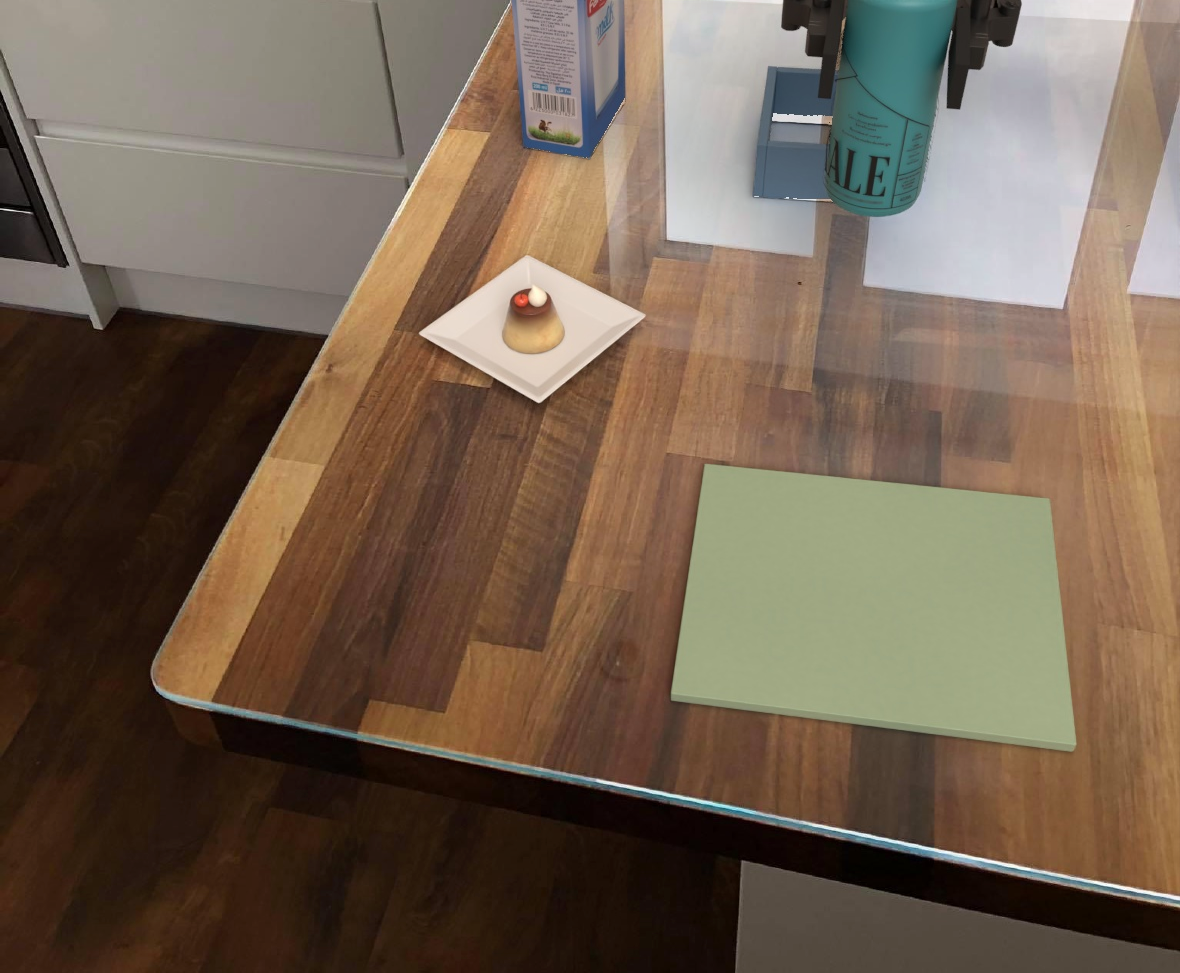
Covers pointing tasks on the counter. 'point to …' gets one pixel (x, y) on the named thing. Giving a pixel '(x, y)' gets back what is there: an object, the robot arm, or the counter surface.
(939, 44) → the beverage bottle
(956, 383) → the counter surface
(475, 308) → the dessert
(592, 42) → the milk carton
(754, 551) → the mat
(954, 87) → the robot arm
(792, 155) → the box
